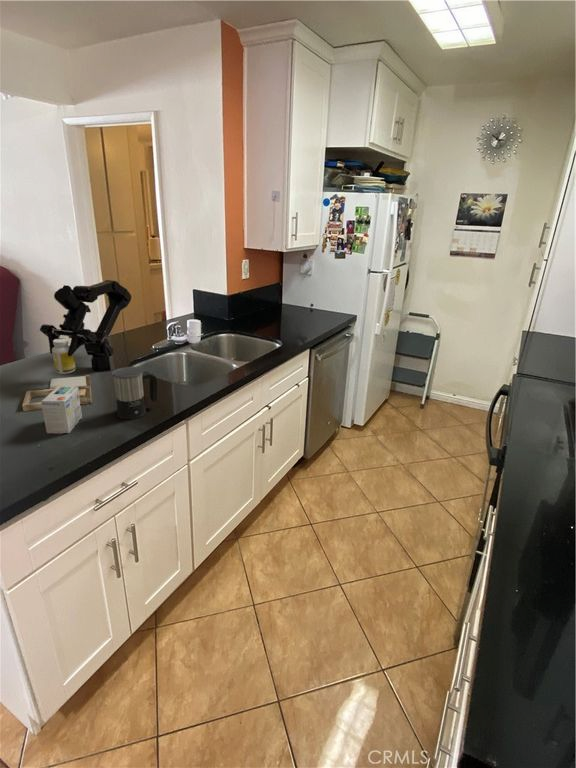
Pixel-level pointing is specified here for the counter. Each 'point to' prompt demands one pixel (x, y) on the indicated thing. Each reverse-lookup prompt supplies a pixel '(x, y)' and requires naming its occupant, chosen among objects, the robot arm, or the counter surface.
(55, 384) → the pale grey mat
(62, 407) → the light bulb box
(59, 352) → the pill bottle
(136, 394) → the milk frother
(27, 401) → the birch rack
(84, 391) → the offcut stack
